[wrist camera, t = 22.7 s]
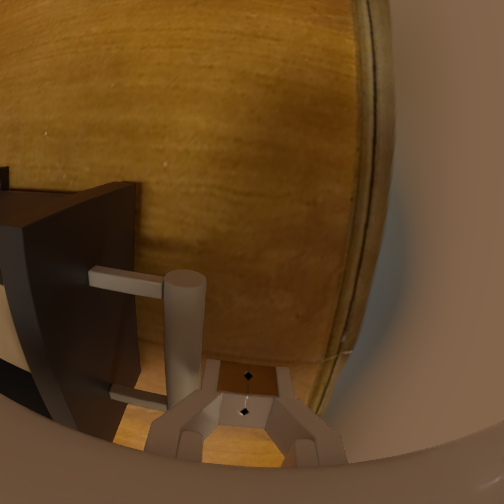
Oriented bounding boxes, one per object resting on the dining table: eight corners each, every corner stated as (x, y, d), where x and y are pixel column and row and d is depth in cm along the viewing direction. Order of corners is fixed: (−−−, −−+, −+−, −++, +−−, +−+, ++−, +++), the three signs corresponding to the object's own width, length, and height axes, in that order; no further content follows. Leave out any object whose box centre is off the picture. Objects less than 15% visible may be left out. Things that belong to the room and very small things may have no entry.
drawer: (225, 192, 13) (191, 252, 5) (206, 383, 16) (190, 494, 9) (-27, 178, 12) (-111, 206, 4) (-4, 323, 15) (-58, 379, 8)
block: (76, 249, 12) (19, 290, 8) (86, 327, 14) (47, 380, 9) (16, 239, 12) (-39, 270, 8) (29, 310, 14) (-13, 351, 9)
